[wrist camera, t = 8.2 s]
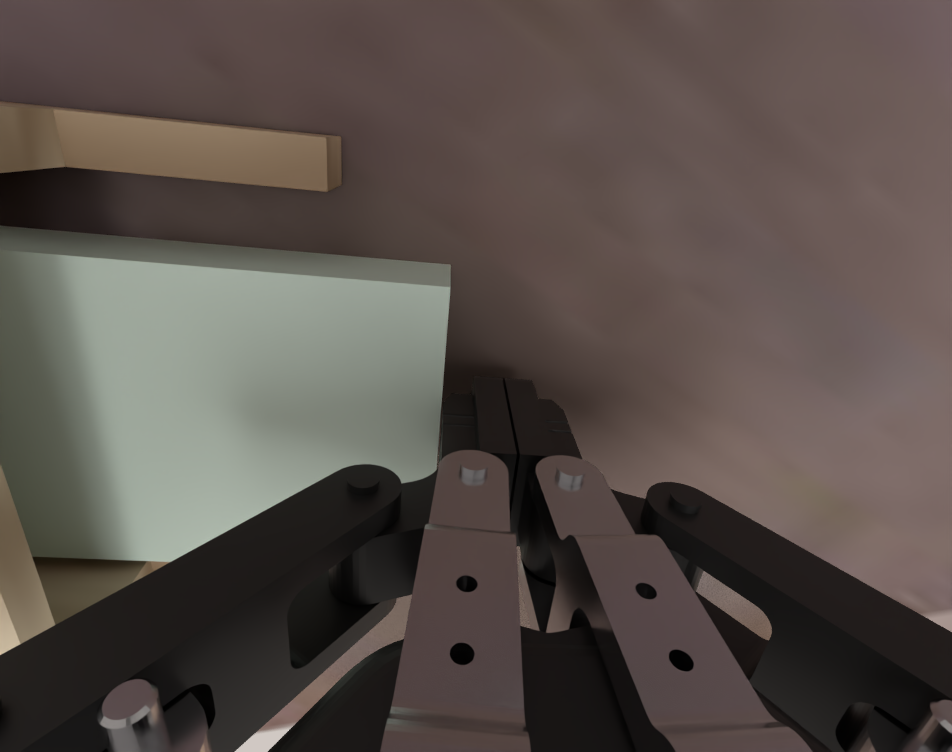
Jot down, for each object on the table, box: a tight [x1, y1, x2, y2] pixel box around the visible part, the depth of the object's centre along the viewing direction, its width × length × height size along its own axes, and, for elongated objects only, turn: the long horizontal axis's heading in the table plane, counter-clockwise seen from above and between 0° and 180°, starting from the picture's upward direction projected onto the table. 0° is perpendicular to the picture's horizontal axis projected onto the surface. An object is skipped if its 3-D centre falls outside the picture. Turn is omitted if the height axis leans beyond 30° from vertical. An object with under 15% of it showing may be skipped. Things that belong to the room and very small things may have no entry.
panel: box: [0, 226, 451, 562], centre depth 13 cm, size 8×15×2 cm, turn 84°
